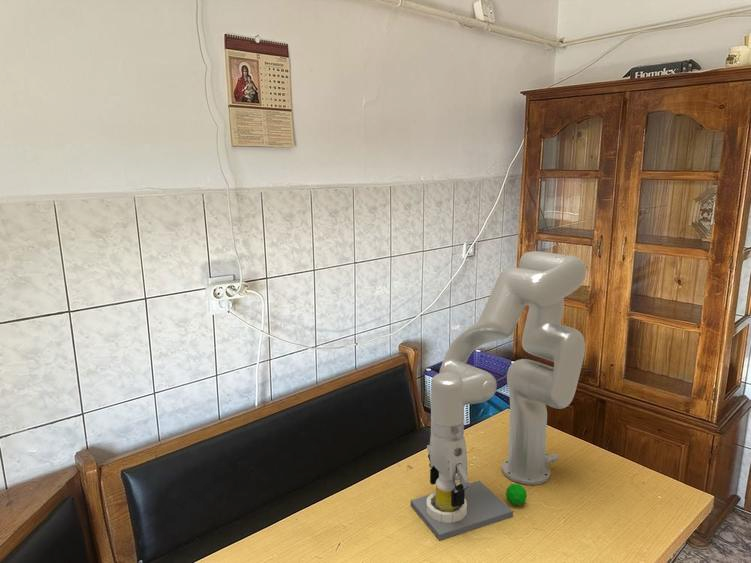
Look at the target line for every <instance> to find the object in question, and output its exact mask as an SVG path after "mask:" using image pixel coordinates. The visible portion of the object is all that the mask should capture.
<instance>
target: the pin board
mask: <svg viewBox="0 0 751 563" xmlns="http://www.w3.org/2000/svg"><path fill="white" fill-rule="evenodd" d="M435 500H436V491H434V492H432V493H430V494H427V495H424V496H420V497H417V498H414V499H410V507H411V508H412V509H413V511H414V512H415V513H416V515H418V516H419V518H420V519H421V520H422V522H424V523H425V525H426V526H427V527H428V529H429V530H430V531H431V532H432V533H433V534H434V537H436V539H437V540H439V542H440V541H442V540H446V539H450V538H451V537H454V536H455V537H456V536H458V535H461V534H465V533H467V532H470V531H473V530H476V529H479V528H483V527H485V526H489V525H491V524H495V523H498V522H500V521H504V520H507V519H510V518H513V517H514V510H513V509H512V508H510V506H508V505H507V504H506V503H505V502H504V501H503V500H502V499H501V498H499V496H497V495H496V494H495V493H494V492H492V490H490V489H489V488H488V487H487V486H486V485H485V484H484V483H483V482H482V481H481V480H475V481H473V482H469V484H468V488H467V489H466V490H465V495H464V504H463V505H459V506H458V510H457V511H454V512H442V511H439V510H437V509H436V508H435Z"/></svg>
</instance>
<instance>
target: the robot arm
mask: <svg viewBox="0 0 751 563" xmlns="http://www.w3.org/2000/svg"><path fill="white" fill-rule="evenodd" d="M586 275H587V269H586V265H585V262H584V261H583V260H582V259H581V258H579V257H577V256H574V255H571V254H570V255H568V254H561V253H553V252H547V251H537V250H535V251H528V252H525V253H523V254H522V255H521V257H520V259H519V264H518V267H509V268H505V269H503V270H502V271H501V272H500V273H499V275H498V277H497V279H496V281H495V283H494V286H493V288H492V290H491V293H490V295H489V297H488V299H487V302H486V304H485V306H484V308H483V310H482V313H481V315H480V317H479V318H478V320H477V321H476V322H475V323H474V324H472V325H471V326H469V327H468V328H466V329H465V330H463V332H461V334H459V335H458V336H457V337H456V338H455V339H454V340H453V341H452V343H451V344H450V345H449V347H448V349H447V352H446V353H445V356H444V357H443V359H442V360H443V361H442V363H441V365H440V368H439V373H437V374H435V375H434V376H433V377H432V378H431V382H430V383H431V384H430V438H429V444H427V445H426V449H427V454H428V455H427V458H428V460H429V464H428V466H429V468H430V469H429V479H430V480H429V483H430V484H431V485H432V486H433V485H436V480H437V479H438V478H439V472H440V473H441V474H442V475H443V476H444V477H445V478H446V479H448V480H450V482H451V485H452V488H453V490H452V491H451V506H452V507H456V506H459V505H463V504H464V495H465V490H466V489H467V488H468V484H469V483H471V482H470V478H469V477H468V454H467V453H468V452H467V445H466V438H465V436H464V434H465V406H467V405H474V404H481V403H485V402H487V401H489V400H490V399H491V398H493V397H494V395H495V394H496V391H497V386H498V384H497V381H496V380H497V379H496V378H495V377H494V376H493V375H492V374H491V373H490V372H488V371H486V370H483V369H481V368H478V367H476V366H473V365H471V364H468V363H467V361H468V359H469V358H470V356H471V355H472V353H473V352H474V351H475V350H476V349H478V348H480V347H481V346H483V345H486V344H488V343H491V342H495V341H496V342H497V341H501V340H505V339H508V338H510V337H512V335H514V332H515V329H516V327H517V325H518V323H519V320H520V318H521V315H522V313H523V311H524V309H525V307H526V306H528V311H527V315H526V320H525V323H524V329H523V332H522V338H521V346H522V347H521V348H522V349H523V350H524V351H525V353H526V352H527V353H528V354H530V355H531V356H535V357H538V358H540V359H544V360H547V361H551V362H553V363H554V364H553V366H550V365H548V364H544V363H542V362H539V361H535V360H532V359H529V358H527V359H526V358H521V359H517V360H515V361H513V362H512V363H511V364H510V366H509V367H508V369H507V374H506V383H507V389H508V394H509V428H508V451H507V452H508V456H507V457H508V458H506V459H505V460H504V461H503V462H502V464H501V471H502V473H503V474H504V475H505V477H507V478H508V479H509V480H511V481H513V482H515V483H517V484H521V485H527V486H528V485H529V486H530V485H541V484H543V483H545V482H548V480H549V479H550V477H551V469H550V467H549V466H548V465H550V464H551V463H554V462H557V461H559V459H560V457H559V454H557V453H552V454H550V455H549V452H548V451H546V447H547V446H546V445H547V426H548V411H547V406H548V407H550V408H553V409H559V410H562V409H565V408H567V407H569V405H570V404H571V403H572V401H573V399H574V397H575V394H576V391H577V387H578V383H579V379H580V374H581V372H582V371H581V370H582V366H583V362H584V358H585V354H586V341H585V337H584V335H583V333H582V332H581V331H580V330H578V329H576V328H574V327H572V326H567V325H563V324H562V320H563V314H564V308H565V302H564V300H565V299H564V298H566V297H567V296H570V295H571V294H573V293H574V292H575V291H576V290H578V289H579V288H580V287H581V286H582V285H583V283H584V280H585V279H586ZM455 474H456V477H454V475H455ZM455 480H457V481H458V483H459V485H457V486H456V483H455Z"/></svg>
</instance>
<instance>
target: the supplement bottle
mask: <svg viewBox="0 0 751 563" xmlns="http://www.w3.org/2000/svg"><path fill="white" fill-rule="evenodd" d="M456 476H457V473H456V474H455V475H454V477H456ZM455 483H456V486H457V485H459V484H460V482H459V480H458V479H457V480H455ZM452 490H453V488H452V485H451V482H450V480H448V479H446V478H445V477H444V476H443V475H442V474H441V473H440V472H439V478H438V479H437V480H436V484H435V492H436V500H435V508H436V509H437V510H439V511H442V512H454V511H457V510H458V506H456V507H452V506H451V491H452Z"/></svg>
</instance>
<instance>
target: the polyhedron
mask: <svg viewBox="0 0 751 563" xmlns="http://www.w3.org/2000/svg"><path fill="white" fill-rule="evenodd" d="M505 496H506V499H507V501H508V503H510V504H511V505H513V506H522V505H523V504H525V503H526V500H527V497H528V494H527V490H526V489H525V487H524V486H523V485H522V484H520V483H511V484H510V485H509V486H508V487H507V488H506V491H505Z"/></svg>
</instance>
